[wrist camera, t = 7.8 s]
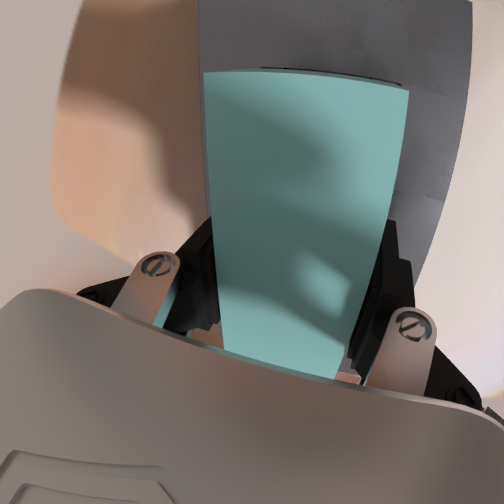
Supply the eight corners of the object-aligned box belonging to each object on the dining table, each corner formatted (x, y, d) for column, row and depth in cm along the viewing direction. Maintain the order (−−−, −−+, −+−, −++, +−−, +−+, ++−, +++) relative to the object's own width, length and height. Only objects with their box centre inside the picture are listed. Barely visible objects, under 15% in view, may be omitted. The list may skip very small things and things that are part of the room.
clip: (290, 67, 11) (203, 72, 5) (385, 79, 10) (409, 90, 4) (279, 284, 18) (229, 390, 12) (344, 299, 17) (317, 415, 11)
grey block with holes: (229, -9, 10) (198, -21, 8) (451, 13, 7) (472, 2, 5) (236, 309, 22) (219, 339, 20) (373, 341, 19) (369, 377, 17)
